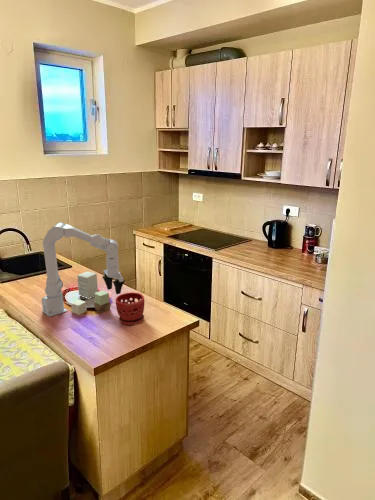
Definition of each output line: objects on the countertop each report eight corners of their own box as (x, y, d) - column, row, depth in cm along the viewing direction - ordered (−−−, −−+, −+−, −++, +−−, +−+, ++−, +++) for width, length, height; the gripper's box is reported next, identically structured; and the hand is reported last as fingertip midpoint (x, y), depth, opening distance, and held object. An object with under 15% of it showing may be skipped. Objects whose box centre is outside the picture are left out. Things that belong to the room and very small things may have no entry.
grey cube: (79, 315, 175) (78, 305, 174) (71, 312, 178) (71, 303, 176) (86, 311, 179) (86, 301, 178) (79, 308, 182) (78, 299, 180)
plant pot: (131, 312, 179) (131, 289, 176) (150, 320, 171) (150, 296, 168) (110, 321, 169) (109, 297, 166) (129, 330, 161) (128, 306, 158)
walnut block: (99, 313, 178) (98, 305, 177) (93, 308, 182) (93, 301, 181) (110, 310, 181) (109, 302, 180) (104, 305, 186) (104, 298, 185)
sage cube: (109, 302, 181) (108, 293, 179) (100, 305, 177) (99, 295, 176) (103, 299, 184) (102, 290, 182) (94, 302, 180) (94, 293, 179)
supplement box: (88, 292, 202) (87, 270, 198) (98, 295, 198) (97, 273, 195) (78, 296, 196) (76, 274, 192) (88, 299, 192) (86, 277, 188)
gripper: (128, 267, 172) (129, 293, 176) (111, 260, 182) (112, 285, 186) (115, 270, 167) (116, 297, 171) (99, 263, 177) (100, 288, 181)
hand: (113, 291), depth 178 cm, fingers open, 7 cm apart
